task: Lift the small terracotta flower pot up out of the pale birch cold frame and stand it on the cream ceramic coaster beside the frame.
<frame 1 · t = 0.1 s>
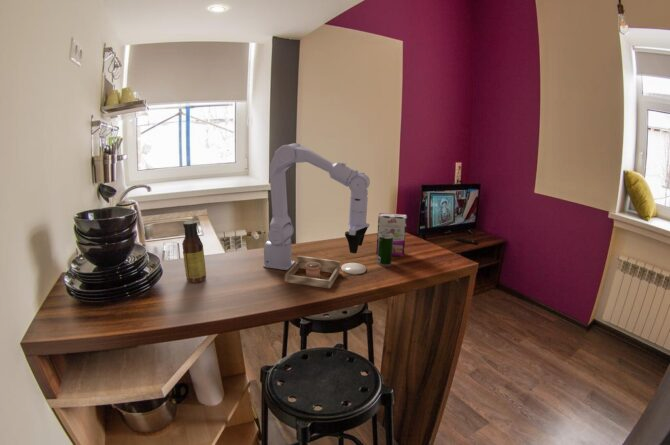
hand: (356, 248, 126), 10 cm above the breakfast bar, tool pointing down, fingers open, 7 cm apart
flower pot: (312, 271, 126), in the cold frame
beer can: (384, 263, 140), on the breakfast bar
cold frame: (312, 277, 126), on the breakfast bar
coaster: (353, 269, 134), on the breakfast bar
sauce bottle: (196, 280, 122), on the breakfast bar
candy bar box: (389, 254, 150), on the breakfast bar
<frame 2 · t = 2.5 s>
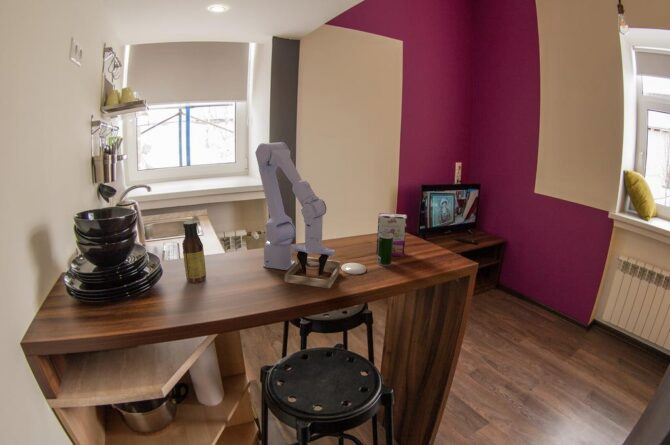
hand: (312, 273, 126), 1 cm above the breakfast bar, tool pointing down, fingers closed on flower pot, 5 cm apart
flower pot: (312, 271, 126), in the cold frame, touching gripper
everything else where it was.
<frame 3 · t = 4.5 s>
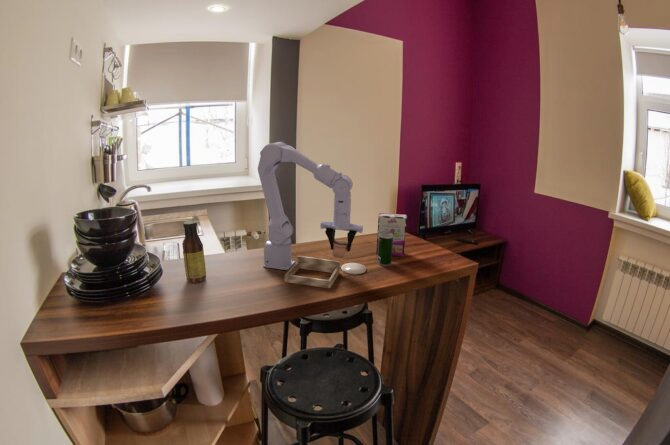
hand: (340, 249, 129), 9 cm above the breakfast bar, tool pointing down, fingers closed on flower pot, 5 cm apart
flower pot: (340, 249, 128), point 9 cm above the breakfast bar, touching gripper
everything else where it was.
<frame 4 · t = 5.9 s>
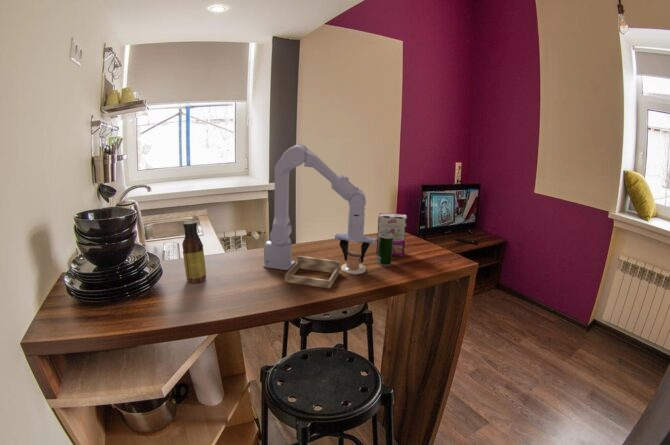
hand: (354, 260, 133), 3 cm above the breakfast bar, tool pointing down, fingers closed on flower pot, 5 cm apart
flower pot: (353, 260, 133), point 4 cm above the breakfast bar, touching gripper
everything else where it was.
when the fingers open (3 cm above the breakfast bar, at t = 6.8 s): flower pot stays where it is, resting on coaster.
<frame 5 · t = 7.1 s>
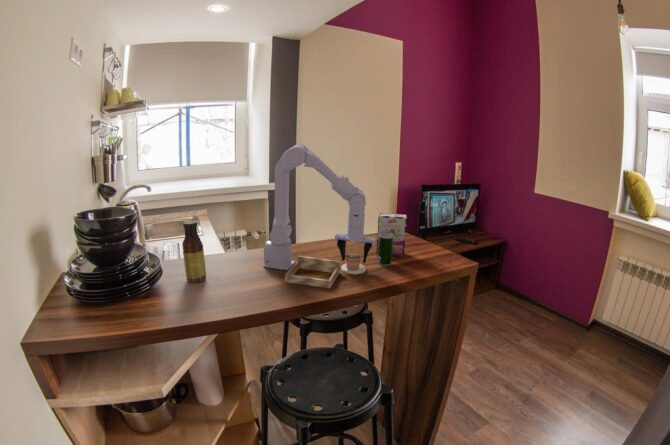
hand: (353, 261, 133), 3 cm above the breakfast bar, tool pointing down, fingers open, 7 cm apart
flower pot: (353, 262, 133), on the coaster, point 3 cm above the breakfast bar
everything else where it was.
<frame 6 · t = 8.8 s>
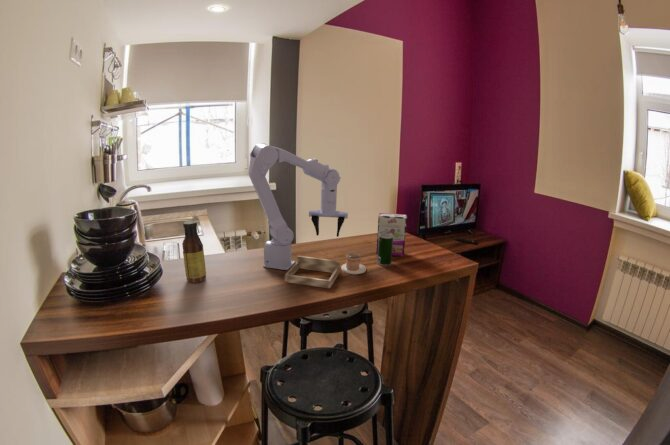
hand: (327, 235, 140), 9 cm above the breakfast bar, tool pointing down, fingers open, 7 cm apart
nothing on the breakfast bar moved.
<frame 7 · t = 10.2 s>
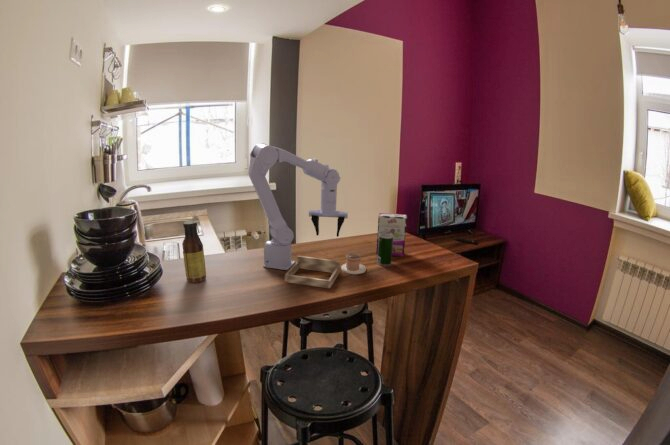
hand: (327, 235, 140), 9 cm above the breakfast bar, tool pointing down, fingers open, 7 cm apart
nothing on the breakfast bar moved.
at the end: flower pot 0.5 cm off-centre on the coaster, point 2.9 cm above the coaster's base; flower pot tilted 0°; the gripper is holding nothing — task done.
